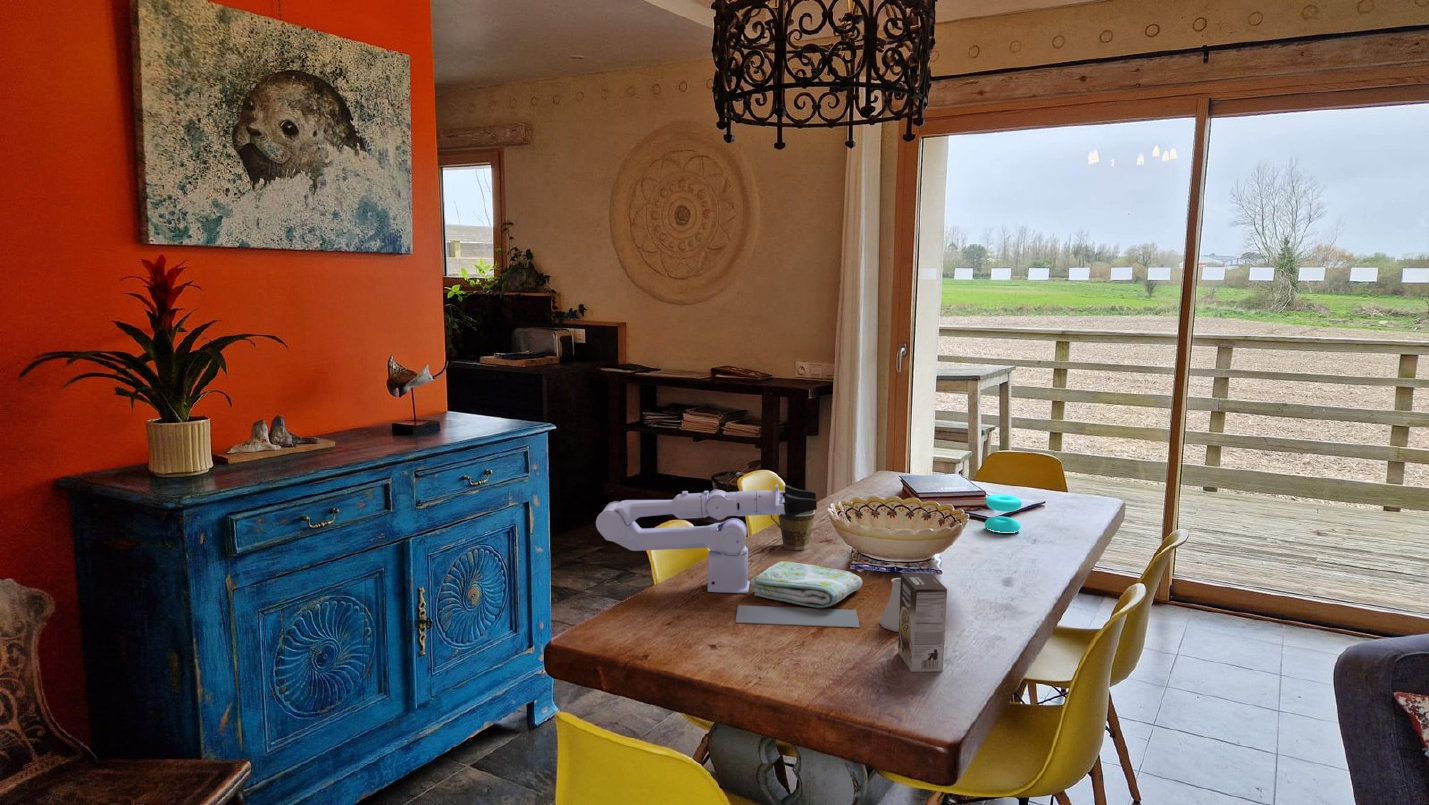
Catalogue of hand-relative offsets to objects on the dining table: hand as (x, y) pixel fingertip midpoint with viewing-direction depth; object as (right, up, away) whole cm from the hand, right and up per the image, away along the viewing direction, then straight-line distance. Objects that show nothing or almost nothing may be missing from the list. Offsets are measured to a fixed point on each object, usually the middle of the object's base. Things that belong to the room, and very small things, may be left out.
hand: (816, 500), depth 208 cm
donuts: (+61, -15, +57) cm, 85 cm away
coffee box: (+16, -27, -36) cm, 48 cm away
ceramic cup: (-3, -17, +39) cm, 42 cm away
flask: (+15, -25, -18) cm, 34 cm away
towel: (-2, -22, +1) cm, 22 cm away
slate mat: (-6, -24, -14) cm, 28 cm away
